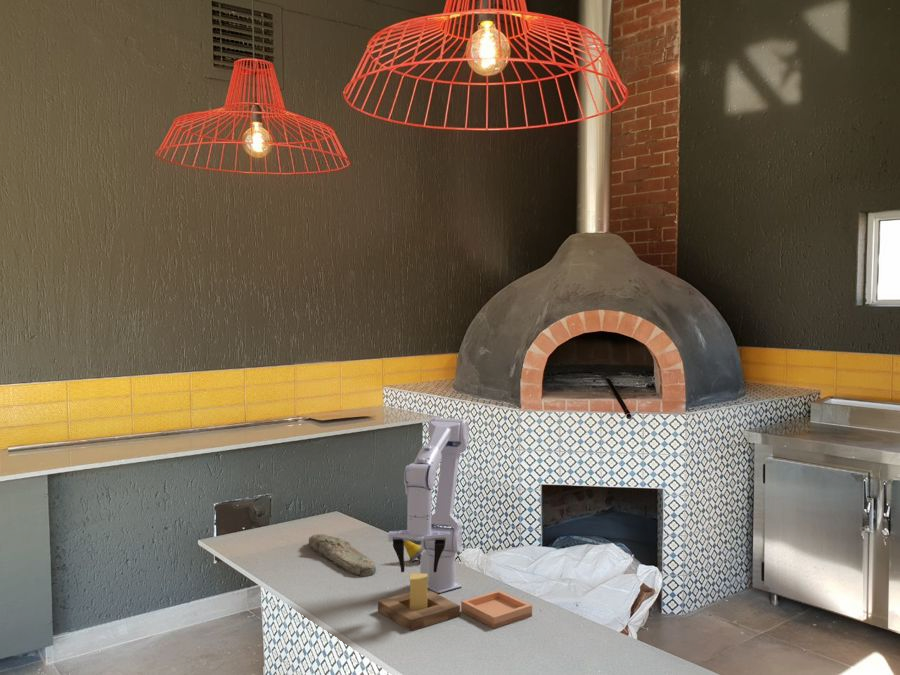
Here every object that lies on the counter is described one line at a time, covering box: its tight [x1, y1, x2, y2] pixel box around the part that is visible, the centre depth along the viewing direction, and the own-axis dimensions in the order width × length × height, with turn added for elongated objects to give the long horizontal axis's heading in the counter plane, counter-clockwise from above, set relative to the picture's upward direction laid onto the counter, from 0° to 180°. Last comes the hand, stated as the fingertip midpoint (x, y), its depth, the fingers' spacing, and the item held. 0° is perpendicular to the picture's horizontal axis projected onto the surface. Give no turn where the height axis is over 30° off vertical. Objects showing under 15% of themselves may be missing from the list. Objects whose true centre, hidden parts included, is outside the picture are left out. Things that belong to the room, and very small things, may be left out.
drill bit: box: [404, 541, 425, 563], centre depth 216 cm, size 5×5×10 cm
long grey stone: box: [308, 533, 377, 577], centre depth 218 cm, size 35×5×10 cm
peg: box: [409, 572, 428, 611], centre depth 179 cm, size 4×4×9 cm
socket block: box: [377, 588, 461, 632], centre depth 179 cm, size 14×14×2 cm
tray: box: [460, 590, 533, 629], centre depth 179 cm, size 12×12×2 cm
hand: (418, 570), depth 178 cm, fingers open, 7 cm apart
